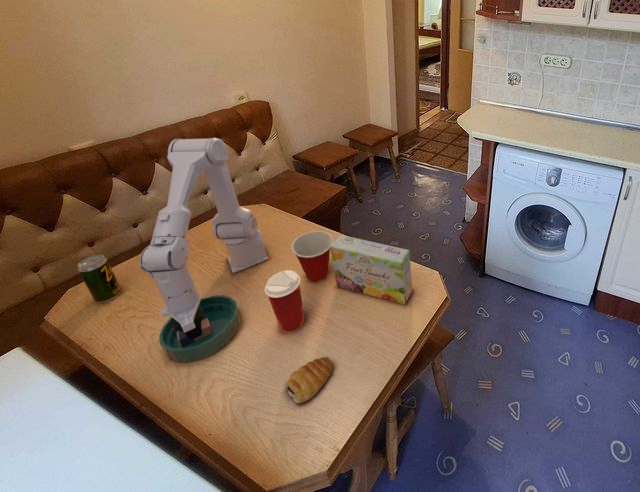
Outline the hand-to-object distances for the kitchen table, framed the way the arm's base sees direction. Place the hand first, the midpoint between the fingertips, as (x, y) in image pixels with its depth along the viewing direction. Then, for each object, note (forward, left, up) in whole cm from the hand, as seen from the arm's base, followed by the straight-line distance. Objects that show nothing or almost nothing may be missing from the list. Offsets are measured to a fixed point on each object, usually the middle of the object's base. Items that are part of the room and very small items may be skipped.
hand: (195, 331), depth 84 cm
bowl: (-1, 0, -2) cm, 3 cm away
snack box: (-39, +14, -2) cm, 42 cm away
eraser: (0, 0, -2) cm, 2 cm away
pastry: (-16, +28, -2) cm, 33 cm away
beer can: (+17, -30, -2) cm, 34 cm away
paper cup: (-18, +10, -2) cm, 21 cm away
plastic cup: (-29, -2, -2) cm, 30 cm away
